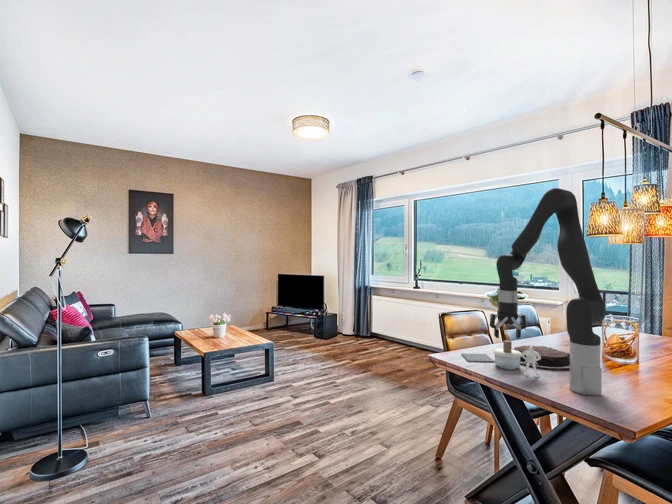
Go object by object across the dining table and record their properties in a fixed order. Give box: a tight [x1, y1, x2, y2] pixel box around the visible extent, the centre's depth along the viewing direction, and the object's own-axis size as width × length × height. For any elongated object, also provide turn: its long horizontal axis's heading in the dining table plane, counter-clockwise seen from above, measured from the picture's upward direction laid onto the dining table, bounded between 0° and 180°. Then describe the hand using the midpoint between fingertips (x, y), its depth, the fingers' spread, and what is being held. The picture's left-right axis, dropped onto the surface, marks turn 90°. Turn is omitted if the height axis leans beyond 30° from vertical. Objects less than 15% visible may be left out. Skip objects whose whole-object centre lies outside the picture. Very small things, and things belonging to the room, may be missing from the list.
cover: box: [493, 340, 522, 358], centre depth 160 cm, size 11×11×6 cm
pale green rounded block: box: [494, 354, 521, 370], centre depth 160 cm, size 10×10×6 cm
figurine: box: [521, 345, 541, 378], centre depth 149 cm, size 7×4×12 cm, turn 59°
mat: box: [461, 352, 495, 363], centre depth 173 cm, size 12×12×1 cm
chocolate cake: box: [513, 345, 570, 371], centre depth 170 cm, size 28×28×7 cm
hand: (507, 338), depth 160 cm, fingers open, 8 cm apart
